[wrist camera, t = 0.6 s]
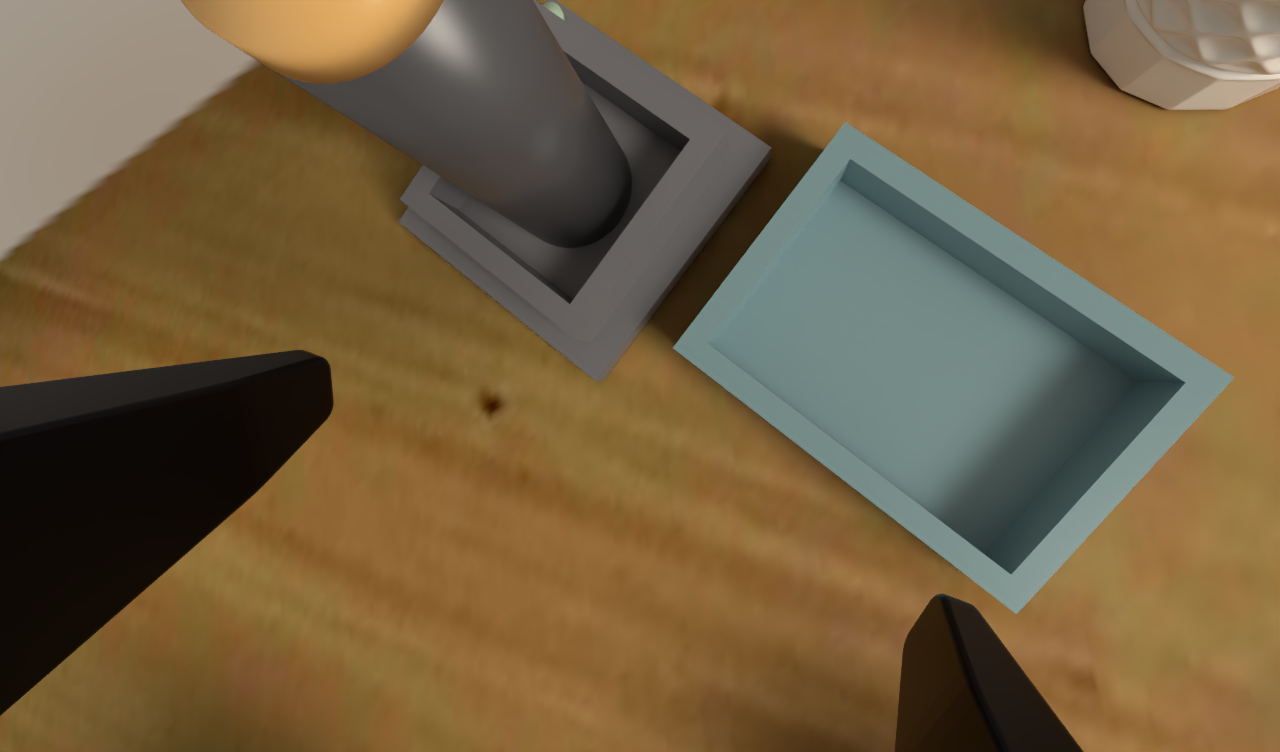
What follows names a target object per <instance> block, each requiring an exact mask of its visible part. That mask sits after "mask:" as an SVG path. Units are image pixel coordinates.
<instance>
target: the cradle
mask: <svg viewBox="0 0 1280 752" xmlns="http://www.w3.org/2000/svg"><path fill="white" fill-rule="evenodd" d="M533 1H534V3H535V4H536V6H537V8H538V9H539V11H540V13H541V14H542V16H543V18H544V19H545V21H546V23H547V25H548V26H549V28H550V30H551V31H552V33H553V35H554V36H555V38H556V40H557V41H558V43H559V45H560V46H561V48H562V50H563V51H564V53H565V55H566V56H567V58H568V60H569V61H570V63H571V65H572V66H573V68H574V70H575V71H576V73H577V75H578V76H579V78H580V80H581V82H582V83H583V85H584V87H585V88H586V90H587V92H588V93H589V95H590V97H591V98H592V100H593V102H594V103H595V105H596V107H597V108H598V110H599V112H600V113H601V115H602V117H603V118H604V120H605V122H606V123H607V125H608V127H609V128H610V130H611V132H612V134H613V135H614V137H615V139H616V140H617V142H618V144H619V145H620V147H621V149H622V150H623V152H624V154H625V156H626V158H627V160H628V163H629V166H630V170H631V175H632V191H631V197H630V201H629V204H628V207H627V209H626V211H625V213H624V215H623V217H622V219H621V220H620V222H619V223H618V224H617V225H616V227H615V228H614V229H613V230H612V231H611V232H610V233H609V234H607V235H606V236H605V237H603V238H602V239H600V240H598V241H596V242H595V243H592V244H590V245H587V246H583V247H577V248H563V247H557V246H554V245H551V244H548V243H546V242H544V241H542V240H541V239H539V238H538V237H536V236H535V235H533V234H531V233H530V232H528V231H527V230H525V229H523V228H522V227H520V226H519V225H517V224H516V223H514V222H512V221H511V220H509V219H508V218H506V217H504V216H503V215H501V214H500V213H498V212H497V211H495V210H493V209H492V208H490V207H489V206H487V205H485V204H484V203H482V202H481V201H479V200H478V199H476V198H474V197H473V196H471V195H470V194H468V193H466V192H465V191H463V190H462V189H460V188H459V187H457V186H455V185H454V184H452V183H451V182H449V181H447V180H446V179H444V178H443V177H441V176H440V175H438V174H436V173H435V172H433V171H432V170H430V169H428V168H427V167H425V166H424V165H422V167H421V168H420V170H419V171H418V173H417V174H416V176H415V177H414V179H413V180H412V182H411V183H410V185H409V186H408V188H407V189H406V191H405V192H404V194H403V195H402V197H401V198H400V200H401V201H402V202H403V203H405V204H406V205H407V206H408V208H407V210H406V211H405V213H404V214H403V216H402V217H401V219H400V220H399V223H400V224H402V225H403V226H404V227H405V228H407V229H408V230H409V231H410V232H412V233H413V234H414V235H415V236H417V237H418V238H419V239H420V240H422V241H423V242H424V243H425V244H426V245H428V246H429V247H430V248H431V249H433V250H434V251H435V252H436V253H438V254H439V255H440V256H441V257H443V258H444V259H445V260H446V261H448V262H449V263H450V264H451V265H452V266H454V267H455V268H456V269H457V270H459V271H460V272H461V273H462V274H464V275H465V276H466V277H467V278H469V279H470V280H471V281H472V282H474V283H475V284H476V285H477V286H479V287H480V288H481V289H482V290H483V291H485V292H486V293H487V294H488V295H490V296H491V297H492V298H493V299H495V300H496V301H497V302H498V303H500V304H501V305H502V306H503V307H505V308H506V309H507V310H508V311H509V312H511V313H512V314H513V315H514V316H516V317H517V318H518V319H519V320H521V321H522V322H523V323H524V324H526V325H527V326H528V327H529V328H531V329H532V330H533V331H534V332H536V333H537V334H538V335H539V336H540V337H542V338H543V339H544V340H545V341H547V342H548V343H549V344H550V345H552V346H553V347H554V348H555V349H557V350H558V351H559V352H560V353H562V354H563V355H564V356H565V357H566V358H568V359H569V360H570V361H571V362H573V363H574V364H575V365H576V366H578V367H579V368H580V369H581V370H583V371H584V372H585V373H586V374H588V375H589V376H590V377H591V378H593V379H594V380H595V381H604V380H605V378H606V377H607V376H608V374H609V373H610V372H611V370H612V369H613V368H614V366H615V365H616V364H617V362H618V361H619V360H620V358H621V357H622V356H623V354H624V353H625V352H626V350H627V349H628V348H629V346H630V345H631V344H632V342H633V341H634V340H635V338H636V337H637V336H638V334H639V333H640V332H641V330H642V329H643V328H644V326H645V325H646V324H647V322H648V321H649V320H650V318H651V317H652V316H653V314H654V313H655V312H656V310H657V309H658V308H659V307H660V305H661V304H662V303H663V301H664V300H665V299H666V297H667V296H668V295H669V293H670V292H671V291H672V289H673V288H674V287H675V285H676V284H677V283H678V281H679V280H680V279H681V277H682V276H683V275H684V273H685V272H686V271H687V269H688V268H689V267H690V265H691V264H692V263H693V261H694V260H695V259H696V257H697V256H698V255H699V253H700V252H701V251H702V249H703V248H704V247H705V245H706V244H707V243H708V241H709V240H710V239H711V237H712V236H713V235H714V233H715V232H716V231H717V229H718V228H719V227H720V225H721V224H722V223H723V221H724V220H725V219H726V218H727V216H728V215H729V214H730V212H731V211H732V210H733V208H734V207H735V206H736V204H737V203H738V202H739V200H740V199H741V198H742V196H743V195H744V194H745V192H746V191H747V190H748V188H749V187H750V186H751V184H752V183H753V182H754V180H755V179H756V178H757V176H758V175H759V174H760V172H761V171H762V170H763V168H764V167H765V166H766V164H767V163H768V162H769V160H770V159H771V149H772V147H770V146H769V145H767V144H766V143H764V142H763V141H761V140H760V139H758V138H757V137H755V136H754V135H752V134H751V133H749V132H748V131H747V130H745V129H744V128H742V127H741V126H739V125H738V124H736V123H735V122H733V121H732V120H730V119H729V118H727V117H726V116H725V115H723V114H722V113H720V112H719V111H717V110H716V109H714V108H713V107H711V106H710V105H708V104H707V103H705V102H704V101H703V100H701V99H700V98H698V97H697V96H695V95H694V94H692V93H691V92H689V91H688V90H686V89H685V88H683V87H682V86H680V85H679V84H678V83H676V82H675V81H673V80H672V79H670V78H669V77H667V76H666V75H664V74H663V73H661V72H660V71H658V70H657V69H656V68H654V67H653V66H651V65H650V64H648V63H647V62H645V61H644V60H642V59H641V58H639V57H638V56H636V55H635V54H634V53H632V52H631V51H629V50H628V49H626V48H625V47H623V46H622V45H620V44H619V43H617V42H616V41H614V40H613V39H612V38H610V37H609V36H607V35H606V34H604V33H603V32H601V31H600V30H598V29H597V28H595V27H594V26H592V25H591V24H589V23H588V22H587V21H585V20H584V19H582V18H581V17H579V16H578V15H576V14H575V13H573V12H572V11H570V10H569V9H567V8H566V7H565V6H563V5H562V4H560V3H559V2H557V1H556V0H547V1H546V2H545V3H544V4H543V5H541V4H540V3H538V2H537V1H535V0H533Z"/></svg>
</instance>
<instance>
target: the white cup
mask: <svg viewBox="0 0 1280 752" xmlns="http://www.w3.org/2000/svg"><path fill="white" fill-rule="evenodd" d="M1083 11H1084V17H1085V23H1086V29H1087V35H1088V41H1089V47H1090V52H1091V54H1092V56H1093V57H1094V58H1095V59H1096V61H1097V62H1098V63H1099V64H1100V66H1101V67H1102V68H1103V69H1104V70H1105V72H1106V73H1107V74H1108V75H1109V76H1110V78H1111V79H1112V80H1113V81H1114V82H1115V84H1116V85H1117V86H1118V87H1119V88H1120V89H1121V90H1122V91H1125V92H1127V93H1129V94H1132V95H1134V96H1136V97H1139V98H1141V99H1143V100H1146V101H1148V102H1150V103H1153V104H1155V105H1157V106H1160V107H1162V108H1164V109H1167V110H1225V109H1229V108H1231V107H1234V106H1236V105H1239V104H1241V103H1244V102H1246V101H1249V100H1251V99H1254V98H1256V97H1258V96H1261V95H1263V94H1266V93H1268V92H1271V91H1273V90H1276V89H1278V88H1280V0H1085V3H1084V6H1083Z"/></svg>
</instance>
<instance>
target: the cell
mask: <svg viewBox="0 0 1280 752" xmlns="http://www.w3.org/2000/svg"><path fill="white" fill-rule="evenodd" d="M181 1H182V3H183V4H184V5H185V6H186V8H187V9H188V10H189V11H190V13H191V14H192V15H193V16H194V17H195V18H196V19H197V20H198V21H199V22H200V23H201V24H203V25H204V26H205V27H206V28H208V29H209V30H211V31H212V32H214V33H215V34H217V35H218V36H220V37H221V38H223V39H224V40H226V41H227V42H229V43H231V44H233V45H234V46H235V47H237V48H239V49H240V50H242V51H243V52H245V53H246V54H248V55H250V56H251V57H253V58H254V59H256V60H258V61H259V62H261V63H262V64H264V65H265V66H267V67H269V68H270V69H272V70H273V71H275V72H277V73H278V74H280V75H281V76H283V77H284V78H286V79H288V80H289V81H291V82H292V83H294V84H296V85H297V86H299V87H300V88H302V89H303V90H305V91H307V92H308V93H310V94H311V95H313V96H315V97H316V98H318V99H319V100H321V101H322V102H324V103H326V104H327V105H329V106H330V107H332V108H334V109H335V110H337V111H338V112H340V113H341V114H343V115H345V116H346V117H348V118H349V119H351V120H352V121H354V122H356V123H357V124H359V125H360V126H362V127H364V128H365V129H367V130H368V131H370V132H371V133H373V134H375V135H376V136H378V137H379V138H381V139H383V140H384V141H386V142H387V143H389V144H390V145H392V146H394V147H395V148H397V149H398V150H400V151H402V152H403V153H405V154H406V155H408V156H409V157H411V158H413V159H414V160H416V161H417V162H419V163H421V164H422V165H424V166H425V167H427V168H428V169H430V170H432V171H433V172H435V173H436V174H438V175H440V176H441V177H443V178H444V179H446V180H447V181H449V182H451V183H452V184H454V185H455V186H457V187H459V188H460V189H462V190H463V191H465V192H466V193H468V194H470V195H471V196H473V197H474V198H476V199H478V200H479V201H481V202H482V203H484V204H485V205H487V206H489V207H490V208H492V209H493V210H495V211H497V212H498V213H500V214H501V215H503V216H504V217H506V218H508V219H509V220H511V221H512V222H514V223H516V224H517V225H519V226H520V227H522V228H523V229H525V230H527V231H528V232H530V233H531V234H533V235H535V236H536V237H538V238H539V239H541V240H542V241H544V242H546V243H548V244H551V245H554V246H557V247H563V248H577V247H583V246H587V245H590V244H592V243H595V242H596V241H598V240H600V239H602V238H603V237H605V236H606V235H607V234H609V233H610V232H611V231H612V230H613V229H614V228H615V227H616V225H617V224H618V223H619V222H620V220H621V219H622V217H623V215H624V213H625V211H626V209H627V207H628V204H629V201H630V197H631V191H632V175H631V170H630V166H629V163H628V160H627V158H626V156H625V154H624V152H623V150H622V149H621V147H620V145H619V144H618V142H617V140H616V139H615V137H614V135H613V134H612V132H611V130H610V128H609V127H608V125H607V123H606V122H605V120H604V118H603V117H602V115H601V113H600V112H599V110H598V108H597V107H596V105H595V103H594V102H593V100H592V98H591V97H590V95H589V93H588V92H587V90H586V88H585V87H584V85H583V83H582V82H581V80H580V78H579V76H578V75H577V73H576V71H575V70H574V68H573V66H572V65H571V63H570V61H569V60H568V58H567V56H566V55H565V53H564V51H563V50H562V48H561V46H560V45H559V43H558V41H557V40H556V38H555V36H554V35H553V33H552V31H551V30H550V28H549V26H548V25H547V23H546V21H545V19H544V18H543V16H542V14H541V13H540V11H539V9H538V8H537V6H536V4H535V3H534V1H533V0H181Z"/></svg>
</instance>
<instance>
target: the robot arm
mask: <svg viewBox="0 0 1280 752" xmlns="http://www.w3.org/2000/svg"><path fill="white" fill-rule="evenodd" d="M332 409H333V390H332V379H331V369H330V365H329V363H328V361H327V360H326V359H325V358H323V357H321V356H318V355H315V354H313V353H310V352H307V351H304V350H294V351H286V352H278V353H270V354H262V355H254V356H246V357H238V358H230V359H222V360H214V361H206V362H198V363H190V364H182V365H174V366H166V367H158V368H150V369H142V370H134V371H125V372H117V373H109V374H101V375H93V376H85V377H77V378H69V379H61V380H53V381H45V382H37V383H29V384H21V385H13V386H5V387H0V716H1V715H2V714H3V713H4V712H5V711H6V710H7V709H9V708H10V707H11V706H12V705H13V704H14V703H15V702H17V701H18V700H19V699H20V698H21V697H22V696H23V695H25V694H26V693H27V692H28V691H29V690H30V689H32V688H33V687H34V686H35V685H36V684H37V683H38V682H40V681H41V680H42V679H43V678H44V677H45V676H46V675H48V674H49V673H50V672H51V671H52V670H53V669H55V668H56V667H57V666H58V665H59V664H60V663H61V662H63V661H64V660H65V659H66V658H67V657H68V656H69V655H71V654H72V653H73V652H74V651H75V650H76V649H77V648H79V647H80V646H81V645H82V644H83V643H84V642H86V641H87V640H88V639H89V638H90V637H91V636H92V635H94V634H95V633H96V632H97V631H98V630H99V629H100V628H102V627H103V626H104V625H105V624H106V623H107V622H109V621H110V620H111V619H112V618H113V617H114V616H115V615H117V614H118V613H119V612H120V611H121V610H122V609H123V608H125V607H126V606H127V605H128V604H129V603H130V602H131V601H133V600H134V599H135V598H136V597H137V596H138V595H140V594H141V593H142V592H143V591H144V590H145V589H146V588H148V587H149V586H150V585H151V584H152V583H153V582H154V581H156V580H157V579H158V578H159V577H160V576H161V575H163V574H164V573H165V572H166V571H167V570H168V569H169V568H171V567H172V566H173V565H174V564H175V563H176V562H177V561H179V560H180V559H181V558H182V557H183V556H184V555H185V554H187V553H188V552H189V551H190V550H191V549H192V548H194V547H195V546H196V545H197V544H198V543H199V542H200V541H202V540H203V539H204V538H205V537H206V536H207V535H208V534H210V533H211V532H212V531H213V530H214V529H215V528H217V527H218V526H219V525H220V524H221V523H222V522H223V521H225V520H226V519H227V518H228V517H229V516H230V515H231V514H233V513H234V512H235V511H236V510H237V509H238V508H239V507H241V506H242V505H243V504H244V503H245V502H246V501H247V500H248V499H250V498H251V497H252V496H253V495H254V494H255V493H256V492H257V491H258V490H259V489H260V488H261V487H262V486H263V485H264V484H265V483H266V482H267V481H268V480H269V479H270V478H271V477H272V476H273V475H274V474H275V473H276V472H277V471H278V470H279V469H280V468H281V467H282V466H283V465H284V464H285V463H286V462H287V460H288V459H289V458H290V457H291V456H292V455H293V454H294V453H295V452H296V451H297V450H298V449H299V448H300V447H301V446H302V445H303V444H304V443H305V442H306V441H307V440H308V439H309V438H310V436H311V435H312V434H313V433H314V432H315V431H316V430H317V429H318V428H319V427H320V426H321V425H322V424H323V423H324V422H325V421H326V420H327V418H328V417H329V415H330V414H331V412H332ZM895 752H1083V750H1082V749H1081V748H1080V746H1079V745H1078V744H1077V742H1076V741H1075V740H1074V738H1073V737H1072V736H1071V734H1070V733H1069V732H1068V730H1067V729H1066V728H1065V726H1064V725H1063V724H1062V722H1061V721H1060V720H1059V718H1058V717H1057V716H1056V714H1055V713H1054V711H1053V710H1052V709H1051V707H1050V706H1049V705H1048V703H1047V702H1046V701H1045V699H1044V698H1043V697H1042V695H1041V694H1040V693H1039V691H1038V690H1037V689H1036V687H1035V686H1034V685H1033V683H1032V682H1031V681H1030V679H1029V678H1028V677H1027V675H1026V674H1025V673H1024V671H1023V670H1022V669H1021V667H1020V666H1019V665H1018V663H1017V662H1016V660H1015V659H1014V658H1013V656H1012V655H1011V654H1010V652H1009V651H1008V650H1007V648H1006V647H1005V646H1004V644H1003V643H1002V642H1001V640H1000V639H999V638H998V636H997V635H996V634H995V632H994V631H993V630H992V628H991V627H990V626H989V624H988V623H987V622H986V620H985V619H984V618H983V616H982V615H981V613H980V612H979V611H978V610H977V609H976V608H975V607H974V606H973V605H971V604H969V603H967V602H964V601H961V600H959V599H956V598H953V597H951V596H948V595H946V594H937V595H936V596H934V597H933V598H932V599H931V600H930V602H929V603H928V605H927V606H926V608H925V609H924V611H923V612H922V614H921V615H920V617H919V618H918V620H917V621H916V623H915V624H914V626H913V627H912V629H911V630H910V632H909V633H908V635H907V638H906V640H905V644H904V648H903V656H902V668H901V681H900V693H899V705H898V718H897V730H896V742H895Z"/></svg>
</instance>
